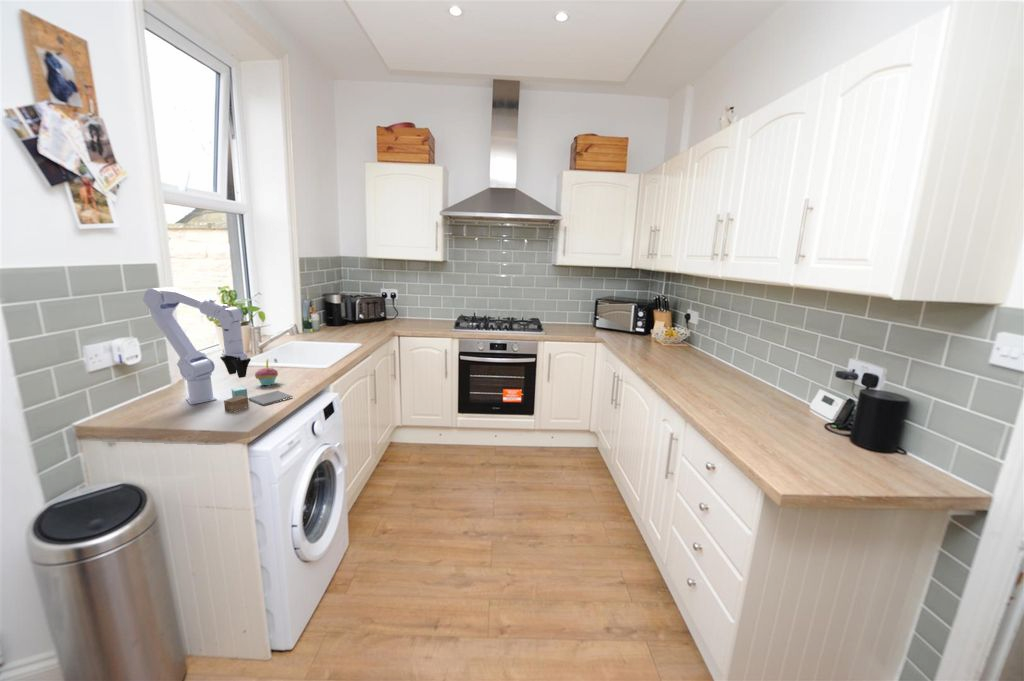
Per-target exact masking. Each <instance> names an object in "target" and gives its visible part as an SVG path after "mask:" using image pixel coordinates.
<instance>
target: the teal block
mask: <svg viewBox="0 0 1024 681" xmlns="http://www.w3.org/2000/svg"><path fill="white" fill-rule="evenodd" d="M231 395H232V396H231V398H233V397H236V396H239V395H240V396H246V397H248V388H246V387H245V386H241V387H240V386H239V387H234V388H231Z"/></svg>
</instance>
